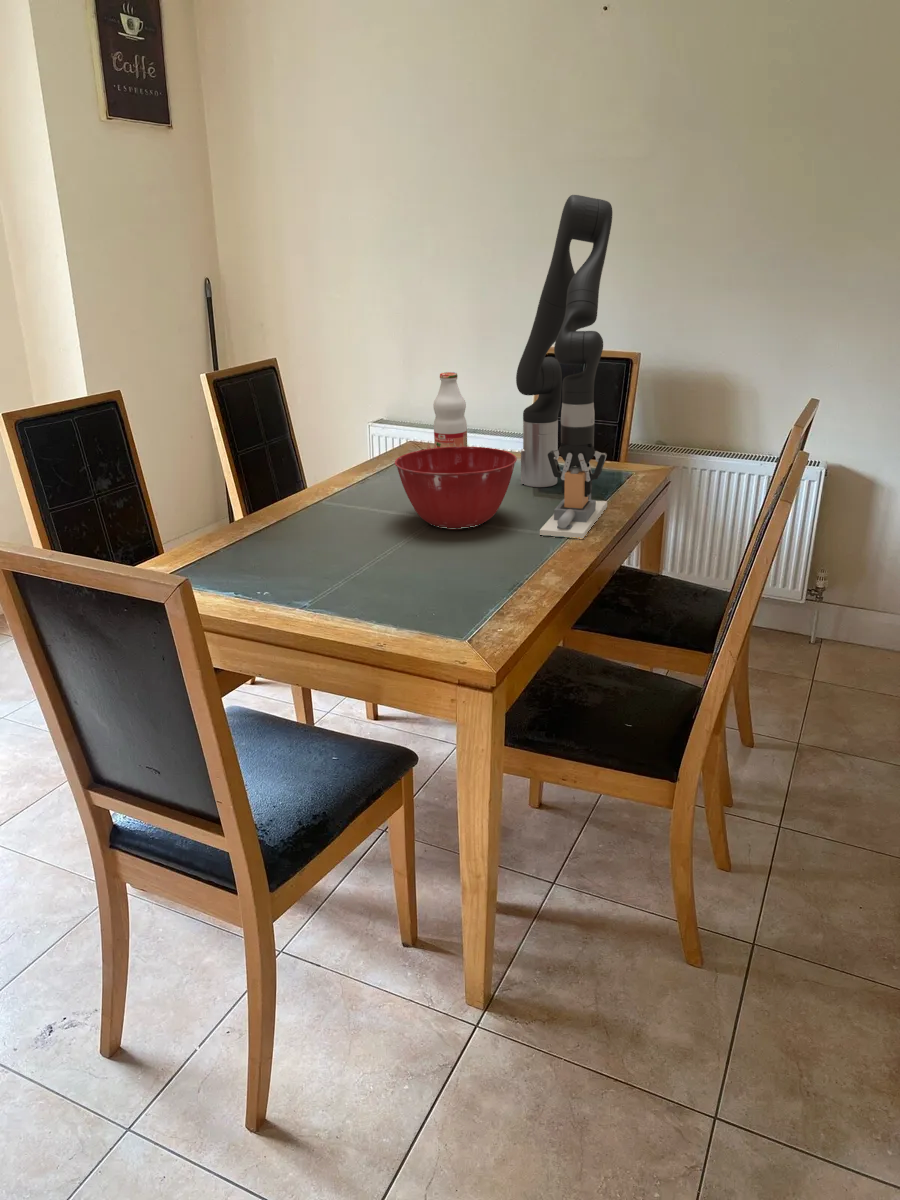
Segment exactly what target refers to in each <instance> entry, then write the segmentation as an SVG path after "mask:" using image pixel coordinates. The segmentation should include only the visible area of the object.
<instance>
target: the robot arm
mask: <svg viewBox="0 0 900 1200" xmlns="http://www.w3.org/2000/svg"><path fill="white" fill-rule="evenodd" d="M612 221H613V207H612V204H611V203H610V202H609V201H608V200H605V199H600V198H595V197H589V196H586V195H579V194H572V195H571V194H570V195H569V197H567V199H566V201H565V204H564V206H563V209H562V212H561V215H560V221H559V225H558V229H557V234H556V240H555V243H554V248H553V252H552V257H551V260H550V261H551V262H550V265H549V269H548V271H547V275H546V277H545V281H544V284H543V287H542V291H541V294H540V297H539V300H538V301H539V302H538V305H537V309H536V313H535V318H534V321H533V323H532V327H531V331H530V334H529V337H528V340H527V342H526V345H525V348H524V350H523V353H522V355H521V357H520V360H519V363H518V365H517V370H516V377H515V379H516V380H515V383H516V387H517V390H518V391H519V393H520V394H521V395H523V396H537V395H538V397H537V399H536V400H535V401H534V402H533V403H531V404H530V405H529V406H527V407H526V408H524V410H523V411H522V434H523V435H522V438H523V439H522V447H523V448H521V450H520V485H522V484H524V486H527V487H532V488H533V487H534V488H547V487H552V486H555V485H557V484H558V478H559V479H560V480H561V492H562V494H564V492H565V473H566V472H568V471H569V467H576V466H577V467H581V468H582V471H583V472H585V480H586V481H585V494H584V496H585V497H588V496H589V495H590V494H591V495H592V489H593V481H594V480H598V479H599V477H600V476H601V474H602V471H603V469H604V466H605V462H606V460H607V456H608V454H607V453H606V452H600V451H598V450H596V448H595V447H596V446H595V417H596V416H595V403H594V401H595V398H594V397H595V393H594V392H595V380H596V375H597V370H598V366H599V363H600V361H601V357H602V354H603V349H604V339H603V337H602V335H601V334H600V333H599V332H598V331H596V330H581V329H584V328H587V327H590V326H592V325H594V324H595V323H596V321H597V318H598V309H599V308H598V307H599V296H600V295H599V292H600V286H601V285H600V284H601V278H602V273H603V268H604V264H605V260H606V256H607V255H606V254H607V251H608V245H609V239H610V235H611V229H612ZM572 240H575V241H581V242H586V243H591V244H593V245H592V248H591V252H590V253H589V256H588V257H587V258H586V260H585V261H584V262H583V264H582V265H581V266H580V267H579V268H578V270H577V271H576V272H575V270H574V266H573V262H572V259H571V252H570V246H571V242H572ZM553 345H554V347H553V348H554V349H553V353H554V357H553V356H546V355H547V354H548V352H549V350H550V348H551V347H552V346H553ZM561 364H562V365H585V369H584V370H583V371H581V372H579V373H574V374H569V375H567V376H565V377H564V378H562V376H563V374H562V367H561ZM561 401H562V403H561ZM560 410H561V411H560ZM559 413H560V446H559V445H558V443H559V441H558V440H559V439H558V437H559V436H558V434H559V433H558V432H559ZM558 447H559V448H558ZM559 457H561V458H562V460H563V461H564V465H563V469H562V471H561V467H560V464H559V461H558V460H559ZM594 457H595V462H597V463H596V465H595V470H594V472H592V469H591V463H590V462H591V460H592V459H593V458H594Z"/></svg>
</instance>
